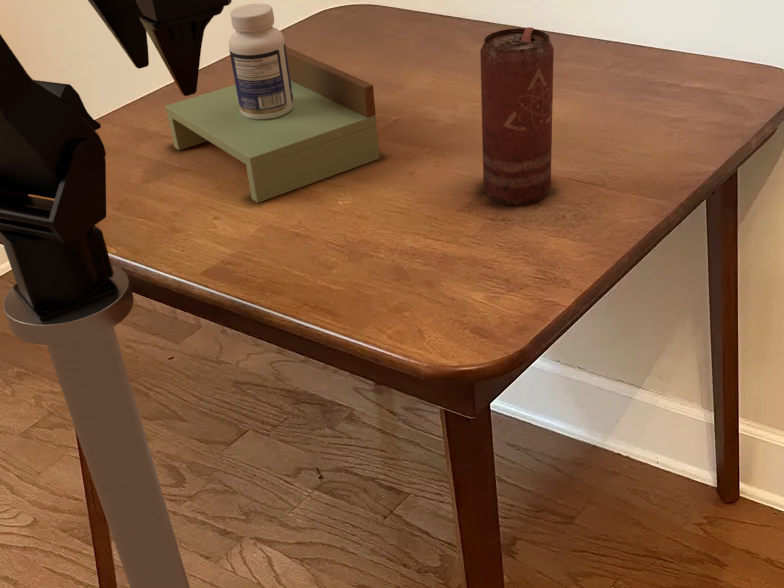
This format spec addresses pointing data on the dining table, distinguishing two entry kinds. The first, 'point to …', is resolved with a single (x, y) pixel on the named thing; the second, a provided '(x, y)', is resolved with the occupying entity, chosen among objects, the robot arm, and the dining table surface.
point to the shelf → (287, 128)
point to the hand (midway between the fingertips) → (165, 80)
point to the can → (517, 115)
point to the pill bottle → (259, 63)
